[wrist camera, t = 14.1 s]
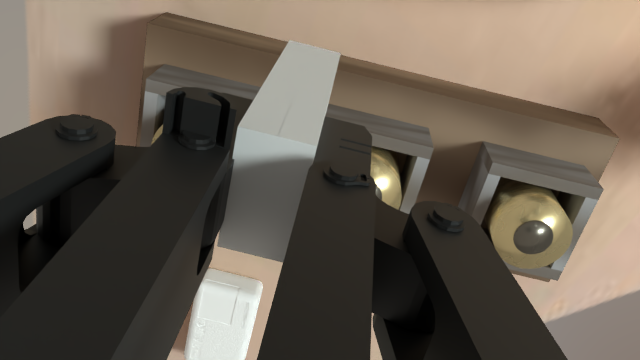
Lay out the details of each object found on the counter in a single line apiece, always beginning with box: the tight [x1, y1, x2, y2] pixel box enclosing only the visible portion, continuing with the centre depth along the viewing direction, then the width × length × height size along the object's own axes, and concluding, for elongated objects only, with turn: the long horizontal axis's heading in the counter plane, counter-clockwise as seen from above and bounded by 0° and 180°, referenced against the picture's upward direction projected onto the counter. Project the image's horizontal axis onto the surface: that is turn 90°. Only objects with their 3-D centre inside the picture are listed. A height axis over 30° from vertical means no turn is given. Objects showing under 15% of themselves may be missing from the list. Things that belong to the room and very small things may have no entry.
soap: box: [184, 268, 263, 360], centre depth 52 cm, size 9×6×3 cm, turn 166°
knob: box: [484, 177, 573, 269], centre depth 39 cm, size 5×5×5 cm
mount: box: [136, 13, 620, 282], centre depth 41 cm, size 12×32×8 cm, turn 77°
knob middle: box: [370, 146, 402, 209], centre depth 38 cm, size 5×5×5 cm
